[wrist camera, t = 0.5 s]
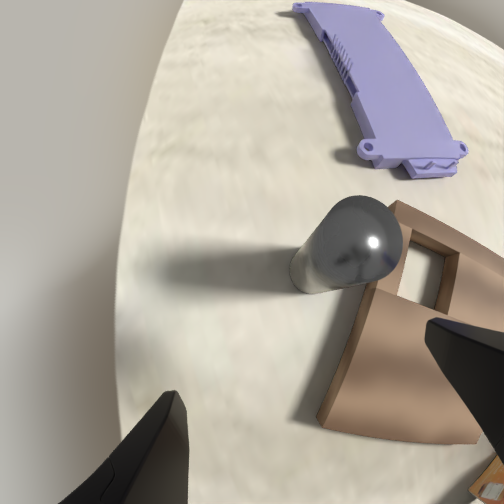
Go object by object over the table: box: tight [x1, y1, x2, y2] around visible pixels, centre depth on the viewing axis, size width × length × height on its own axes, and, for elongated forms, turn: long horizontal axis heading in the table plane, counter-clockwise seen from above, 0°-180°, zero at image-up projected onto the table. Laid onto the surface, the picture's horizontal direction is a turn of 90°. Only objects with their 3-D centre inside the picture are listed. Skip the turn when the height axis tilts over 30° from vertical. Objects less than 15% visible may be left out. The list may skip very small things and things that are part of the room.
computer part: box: [292, 2, 468, 179], centre depth 27 cm, size 30×4×15 cm
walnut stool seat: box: [316, 200, 504, 444], centre depth 21 cm, size 20×20×2 cm
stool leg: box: [290, 195, 403, 294], centre depth 18 cm, size 4×4×12 cm
